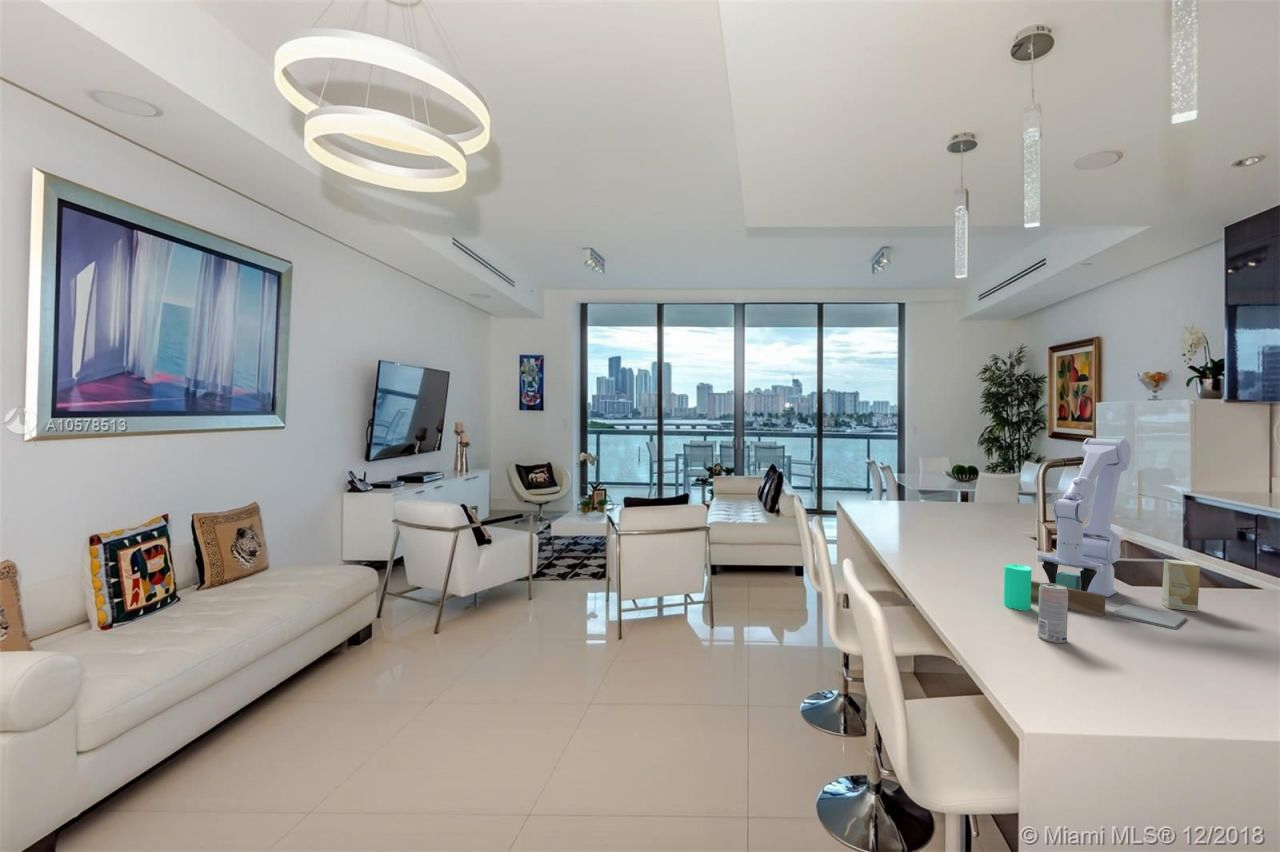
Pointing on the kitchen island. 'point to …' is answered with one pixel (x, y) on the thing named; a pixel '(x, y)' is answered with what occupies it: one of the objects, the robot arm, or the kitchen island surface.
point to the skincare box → (1180, 585)
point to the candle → (1017, 586)
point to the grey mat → (1149, 616)
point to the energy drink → (1053, 612)
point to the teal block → (1069, 580)
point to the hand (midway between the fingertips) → (1068, 592)
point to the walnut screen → (1077, 600)
